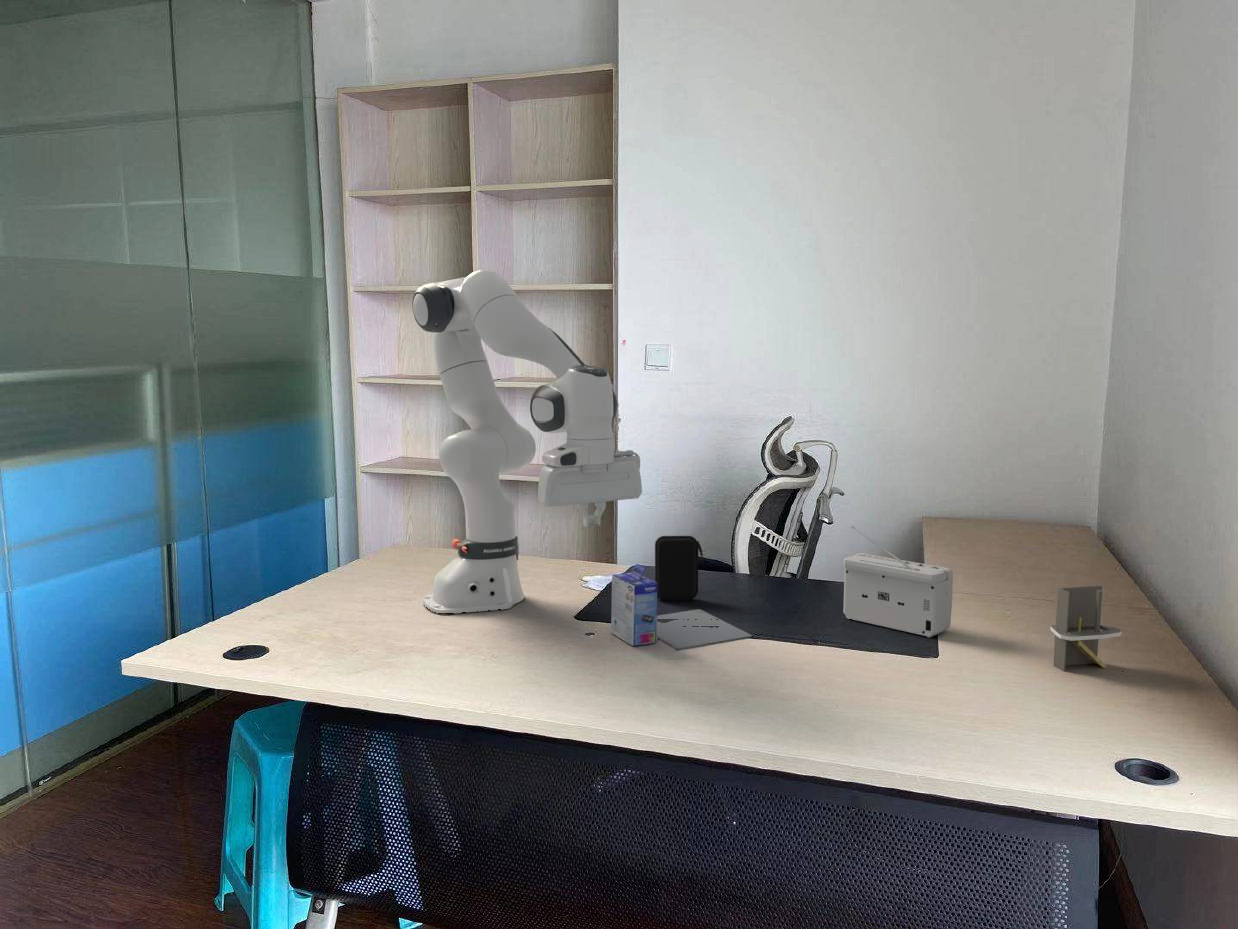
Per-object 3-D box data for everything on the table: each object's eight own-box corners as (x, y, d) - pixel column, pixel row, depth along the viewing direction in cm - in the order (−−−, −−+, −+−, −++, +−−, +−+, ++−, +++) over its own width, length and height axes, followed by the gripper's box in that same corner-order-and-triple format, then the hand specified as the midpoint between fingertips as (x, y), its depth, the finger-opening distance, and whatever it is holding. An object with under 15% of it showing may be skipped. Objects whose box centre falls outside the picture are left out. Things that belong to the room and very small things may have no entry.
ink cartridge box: (658, 643, 181) (658, 570, 179) (633, 648, 178) (633, 574, 176) (634, 629, 190) (634, 559, 187) (610, 633, 187) (609, 562, 185)
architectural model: (1185, 683, 160) (1191, 600, 158) (1055, 695, 155) (1060, 609, 153) (1103, 646, 179) (1109, 571, 177) (985, 655, 174) (989, 579, 172)
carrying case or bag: (701, 598, 212) (702, 534, 209) (703, 601, 208) (703, 537, 206) (654, 598, 211) (654, 534, 209) (655, 602, 208) (655, 537, 206)
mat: (677, 650, 177) (677, 648, 177) (629, 621, 195) (629, 620, 194) (752, 637, 184) (752, 635, 184) (699, 610, 202) (699, 609, 202)
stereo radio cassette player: (952, 631, 187) (956, 533, 184) (934, 641, 181) (938, 540, 178) (857, 611, 201) (860, 519, 198) (838, 619, 195) (840, 525, 192)
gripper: (632, 447, 182) (633, 517, 184) (533, 454, 173) (535, 528, 175) (647, 451, 176) (648, 523, 178) (546, 458, 168) (548, 534, 169)
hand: (591, 525), depth 177 cm, fingers closed
